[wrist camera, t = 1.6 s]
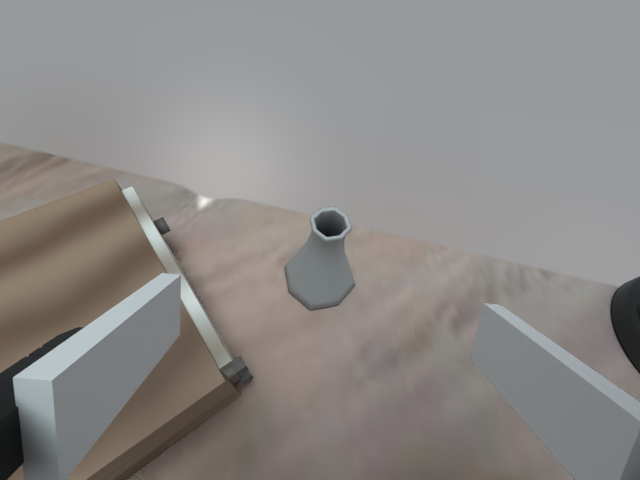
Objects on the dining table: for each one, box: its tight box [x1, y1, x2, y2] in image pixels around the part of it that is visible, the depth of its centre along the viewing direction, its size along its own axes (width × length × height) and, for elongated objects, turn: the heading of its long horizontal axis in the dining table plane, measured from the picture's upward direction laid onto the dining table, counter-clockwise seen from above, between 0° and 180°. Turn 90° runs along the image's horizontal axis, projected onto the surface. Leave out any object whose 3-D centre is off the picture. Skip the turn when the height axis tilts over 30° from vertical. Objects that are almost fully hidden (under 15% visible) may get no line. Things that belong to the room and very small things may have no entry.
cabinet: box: [0, 179, 253, 480], centre depth 24 cm, size 20×16×8 cm
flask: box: [284, 206, 355, 310], centre depth 28 cm, size 7×7×10 cm
